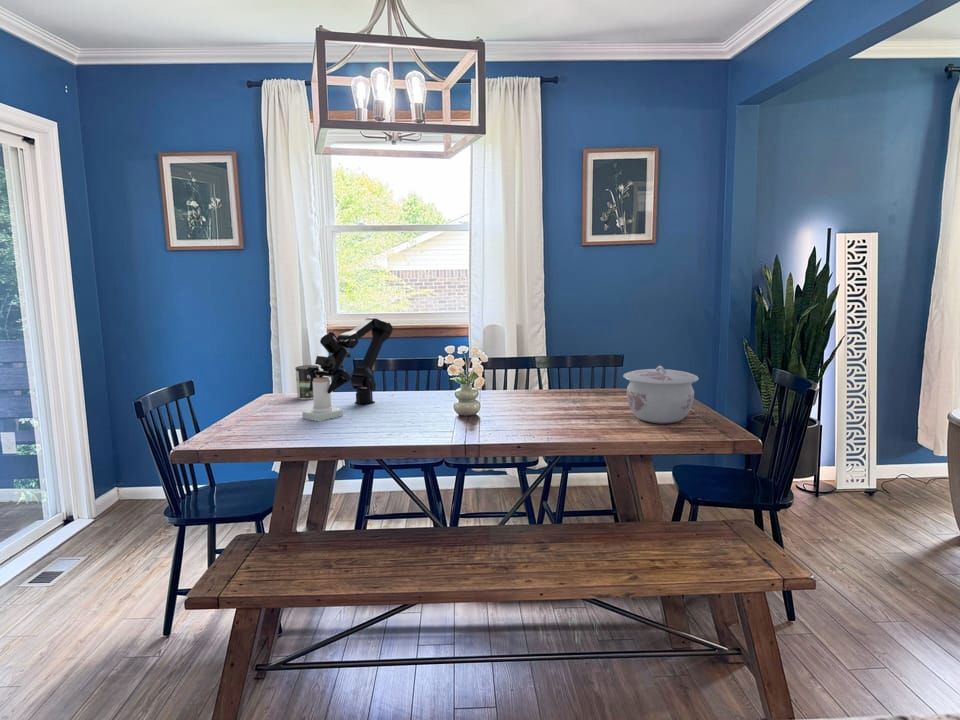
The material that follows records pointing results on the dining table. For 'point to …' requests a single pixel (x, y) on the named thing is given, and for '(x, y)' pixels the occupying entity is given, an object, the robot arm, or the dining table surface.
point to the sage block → (322, 414)
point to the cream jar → (321, 395)
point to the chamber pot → (660, 394)
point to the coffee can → (304, 382)
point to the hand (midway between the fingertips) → (319, 391)
